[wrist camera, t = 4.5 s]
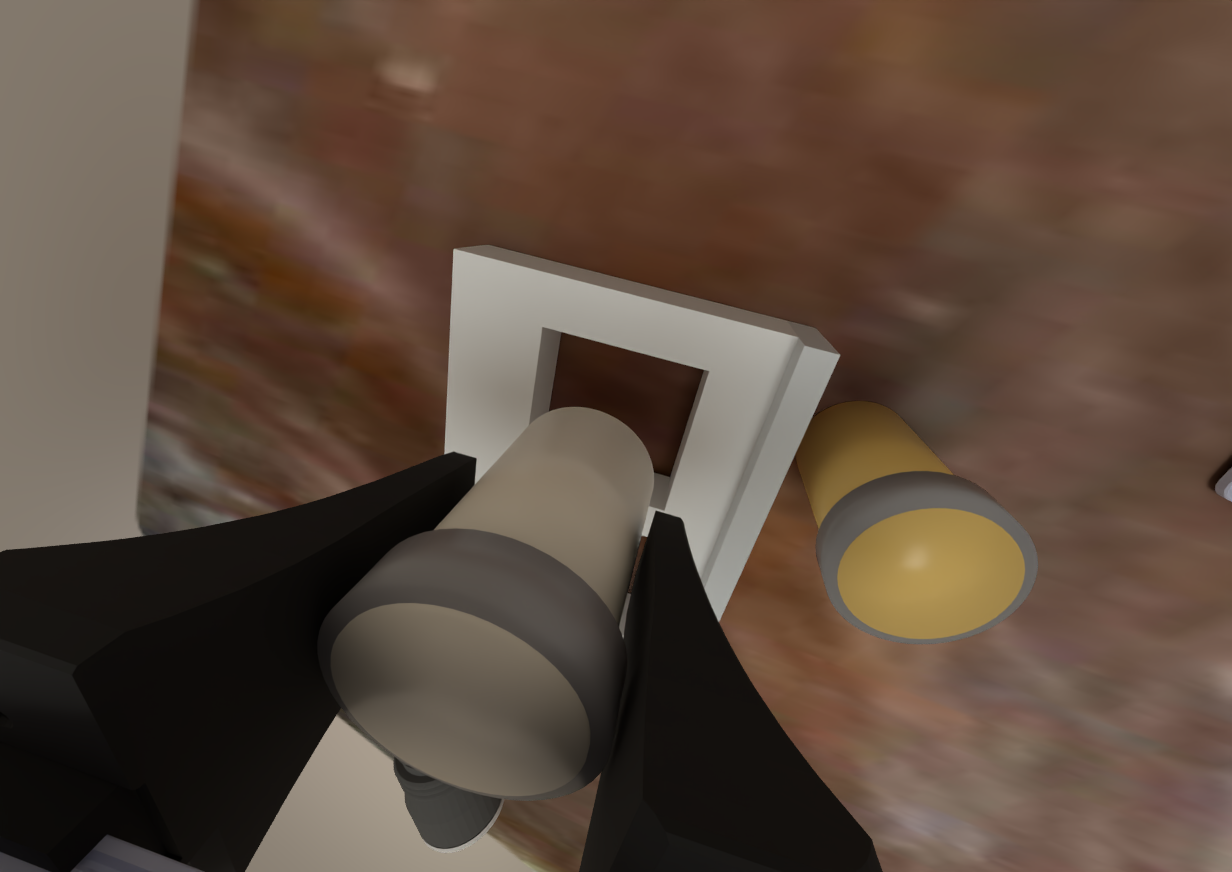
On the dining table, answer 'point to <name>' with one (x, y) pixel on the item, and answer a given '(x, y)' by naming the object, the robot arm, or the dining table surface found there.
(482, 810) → the flashlight
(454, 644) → the cream grey-rimmed peg
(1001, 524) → the yellow cylinder grey rim
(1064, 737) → the dining table surface
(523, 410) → the housing
